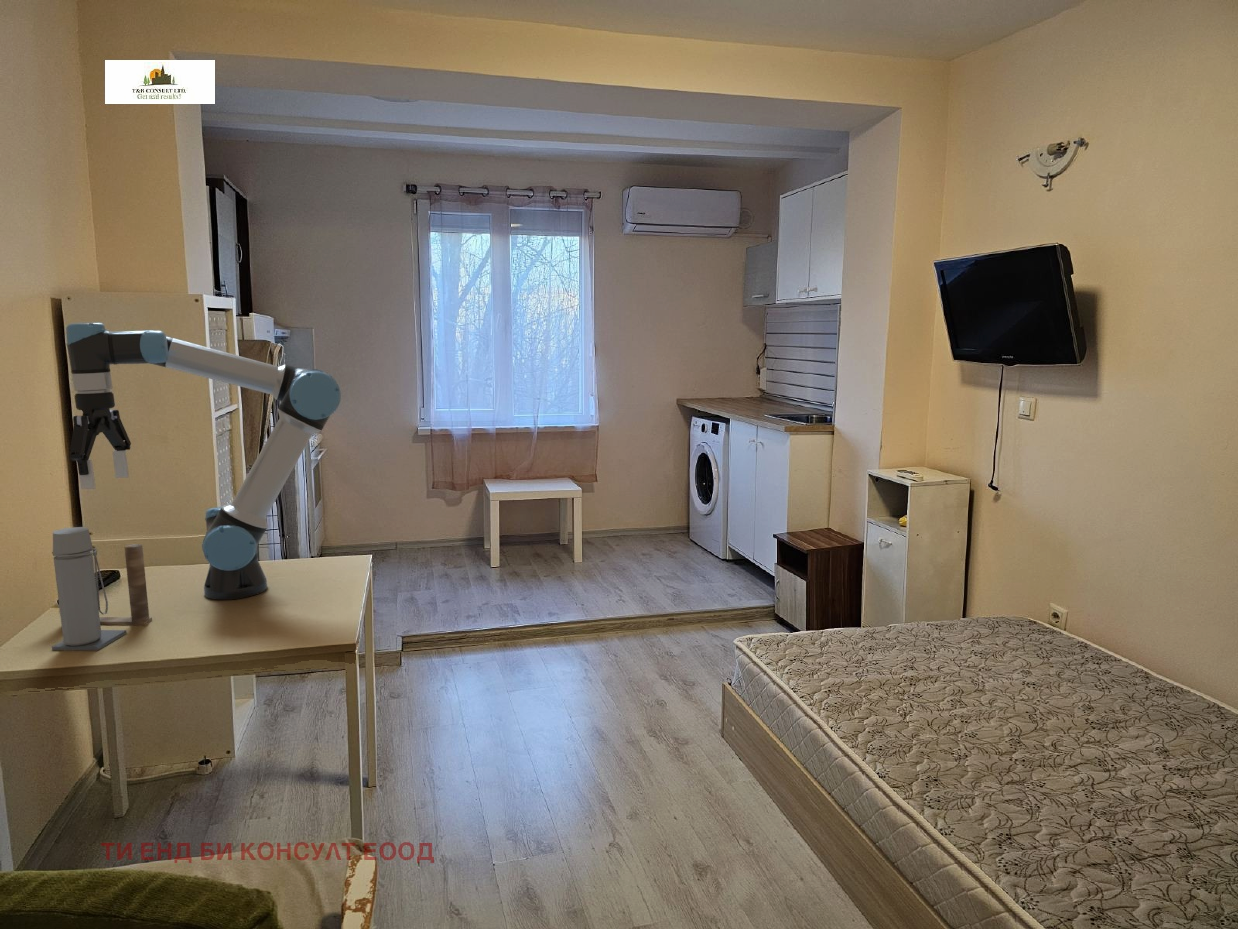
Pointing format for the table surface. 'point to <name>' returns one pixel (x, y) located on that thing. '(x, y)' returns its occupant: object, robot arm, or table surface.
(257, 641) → the table surface
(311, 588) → the table surface
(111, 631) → the pad
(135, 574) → the gate
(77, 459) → the robot arm
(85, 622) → the water bottle
